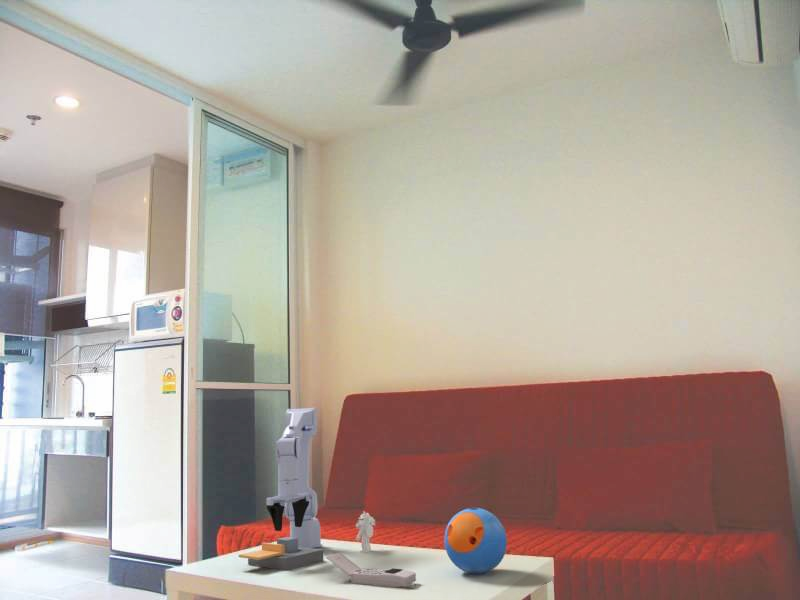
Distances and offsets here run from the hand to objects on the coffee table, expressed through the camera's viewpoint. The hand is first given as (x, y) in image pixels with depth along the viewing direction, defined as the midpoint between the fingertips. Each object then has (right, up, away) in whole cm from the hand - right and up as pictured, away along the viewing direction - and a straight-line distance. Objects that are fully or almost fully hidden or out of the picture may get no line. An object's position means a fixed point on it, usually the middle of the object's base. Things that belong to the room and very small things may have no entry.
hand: (288, 528), depth 184 cm
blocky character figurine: (+22, -11, +10) cm, 26 cm away
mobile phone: (+26, -2, -31) cm, 40 cm away
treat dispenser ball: (+51, -2, -25) cm, 57 cm away
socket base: (0, -9, -3) cm, 9 cm away
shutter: (-6, -4, -9) cm, 11 cm away
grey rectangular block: (0, -8, -1) cm, 8 cm away
